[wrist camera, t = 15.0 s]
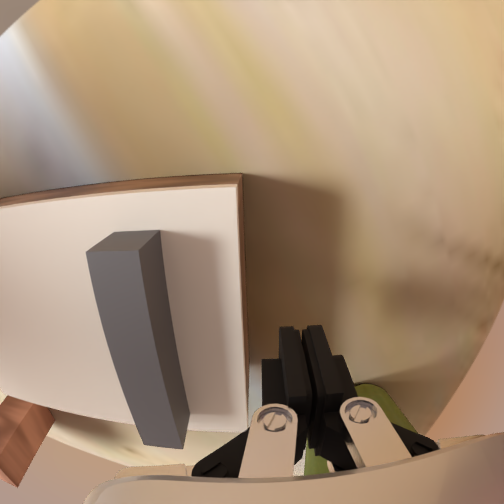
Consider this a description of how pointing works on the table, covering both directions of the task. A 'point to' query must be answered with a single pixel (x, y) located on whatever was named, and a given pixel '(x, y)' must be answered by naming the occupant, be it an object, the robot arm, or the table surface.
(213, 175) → the toolbox
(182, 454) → the table surface
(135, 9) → the table surface
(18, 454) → the salmon orange block
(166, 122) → the table surface
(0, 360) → the toolbox lid
